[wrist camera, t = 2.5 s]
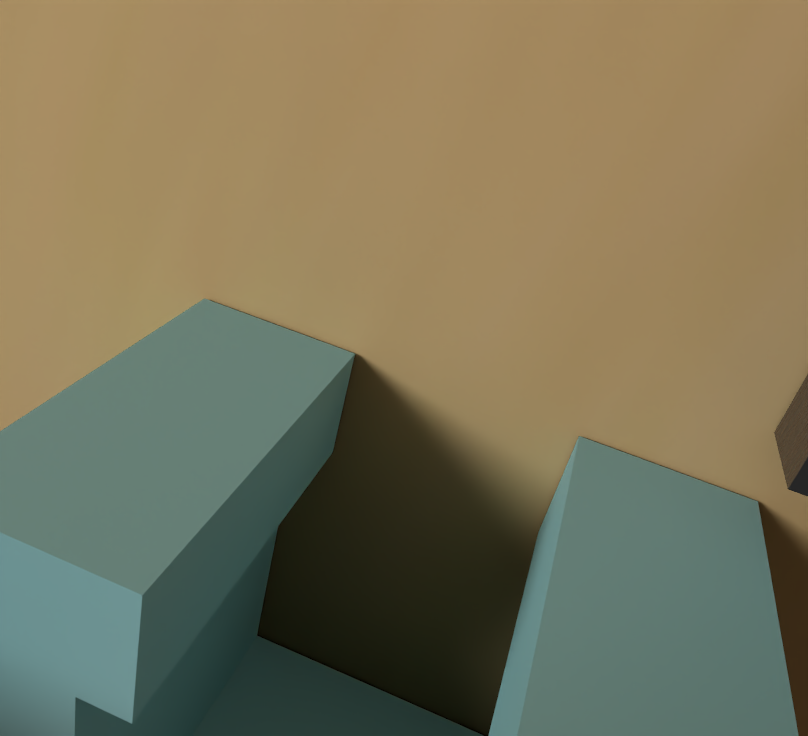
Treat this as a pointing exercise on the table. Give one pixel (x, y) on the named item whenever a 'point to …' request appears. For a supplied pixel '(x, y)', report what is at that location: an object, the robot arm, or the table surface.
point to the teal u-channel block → (253, 548)
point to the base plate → (795, 442)
